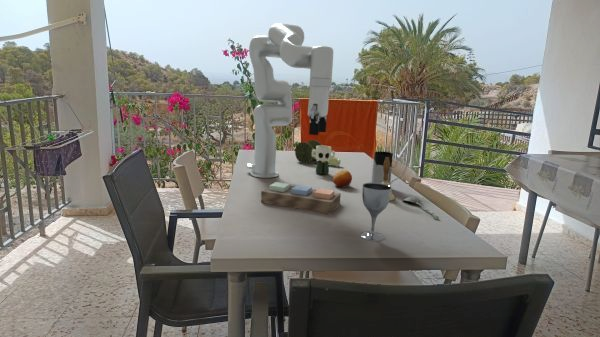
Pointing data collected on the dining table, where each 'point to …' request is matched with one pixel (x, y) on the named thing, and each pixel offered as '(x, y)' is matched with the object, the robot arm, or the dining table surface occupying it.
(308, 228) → the dining table surface
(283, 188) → the sage key
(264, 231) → the dining table surface
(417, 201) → the soupspoon
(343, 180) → the fruit
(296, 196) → the key panel
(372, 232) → the wine glass
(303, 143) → the green broccoli
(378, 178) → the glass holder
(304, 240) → the dining table surface
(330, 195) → the terracotta key
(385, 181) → the hand bell
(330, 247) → the dining table surface
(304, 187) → the slate key
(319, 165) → the character mug
